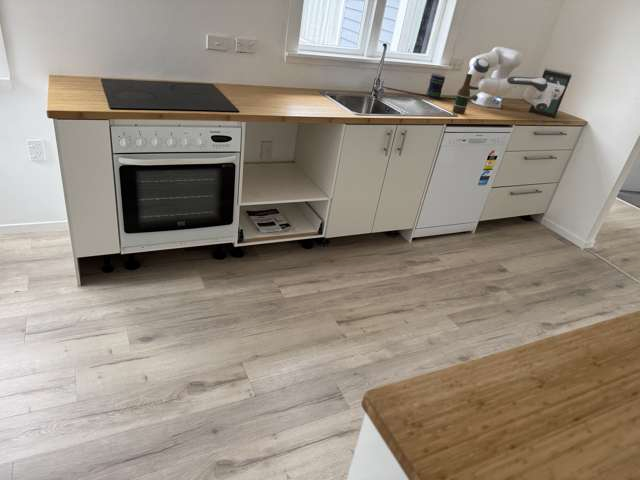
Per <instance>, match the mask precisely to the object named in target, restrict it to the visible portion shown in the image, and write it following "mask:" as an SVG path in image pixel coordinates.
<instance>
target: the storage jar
mask: <svg viewBox="0 0 640 480" xmlns="http://www.w3.org/2000/svg"><path fill="white" fill-rule="evenodd" d="M445 80H446V76H445V75H442V74H437V73H431V76H430V78H429V84H428V87H427V90H426V95H427V96H426V97H427V98H429V99H433V100H440V99H441V98H440V97H441V96H442V90H443V86H444V83H445Z"/></svg>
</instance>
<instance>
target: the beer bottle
mask: <svg viewBox="0 0 640 480" xmlns="http://www.w3.org/2000/svg"><path fill="white" fill-rule="evenodd" d="M471 77H472V75H471V74H468V73H466V75H465V78H466V79H464V81H463V84H462V86H461V87H460V88H459V89H458V91H457V93H456V97H455V98H456V99H454V104H453V106H452V112H453V113H454V114H458V115H464V114H465V112H466V110H467V107H468V104H469V100H470V99H469V98H471V89H469V86H470V82H471Z"/></svg>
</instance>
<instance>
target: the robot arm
mask: <svg viewBox="0 0 640 480" xmlns="http://www.w3.org/2000/svg"><path fill="white" fill-rule="evenodd" d="M523 60H524V56H523V54H522V53H521V52H520V51H518V50H515V49H512V48H508V47H505V46H495V47H493V48H492V49H491V51H490V52H485V53H481V54H478V55H476V56H474V57H472V58H471V59H470V60H469V65H468V66H469V70H468V73H467V74H471V75H472V77H471V82H470V86H469V89H470V91H471V90H472V91H476V90H479V91H480V92H479V93H477V94H472V96H470V97H469V100H470V99H471V101H470V102H471V103H473V104H475V105H478V106H481V107H483V108H484V107H485V108H496V109H501V108H502V102H503V97H504V96H505V95H507V94H509V92H511V91H512V90H513V89H515V88H517V87H527V88H526V89H525V91H524V92H523V94H522V99H523V101H524V102H525V103H526V104H528V105H530V106H531V105H533V106H534V107H535V108H536V110H538V111H544V110H546V109H547V108H548V107H549V105H550V103H551V100H552V99H559V97H560V96H561V95H562V93H563V91H564V88H565V86H563V85H560V84H559V81H557V82H556V84H554V83H549V82H547V81H546V79H545V78H542V76H535V77H531V76H530V77H529V76H528V77H527V76H511V73H513V71H514V70H515V69H517V68H518V67H519V66H520V65H522V63H523ZM498 65H500V66H499V68H498V69H496V68H497V66H498ZM493 69H496V70H494V71H492V73H491V76H487V73H488V71H489V70H493ZM465 79H466V77H465ZM465 79H464V80H465ZM383 89H387V90H393V91H398V92H403V93H407V94H413V95H419V96H424V97H427V94H425V93H419V92H414V91H408V90H402V89H398V88H392V87H388V86H383ZM440 99H445V100H447V99H448V100H456V97H446V96H440Z"/></svg>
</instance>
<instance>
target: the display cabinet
mask: <svg viewBox="0 0 640 480" xmlns="http://www.w3.org/2000/svg"><path fill="white" fill-rule="evenodd" d="M544 73H549V74H553V75H558V76H562V77H567V78H570V79H569V82H568V84H567V87H566V89H565V92H564V94H563V97H562V99H561V102H560V104H559V107H558V109H557V112H556V114H555V116H553V115H549V114H545V113H541V112H537V111H533V110H531V108H532V105H530V108H529V111H528V112H529V113H531V114H536V115H540V116H544V117H548V118H553V119H555V118H556V116H557V113H558V111H559V108H560V106H561V104H562V101H563V98H564V96H565V93H566V91H567V88H568V87H569V84H570V81H571V78H572V76H573V74H572V73H571V72H565V71H561V70H557V69H552V68H548V67H545V68H544V70H543V73H542V76H541V77H542V78H543V76H544Z"/></svg>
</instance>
